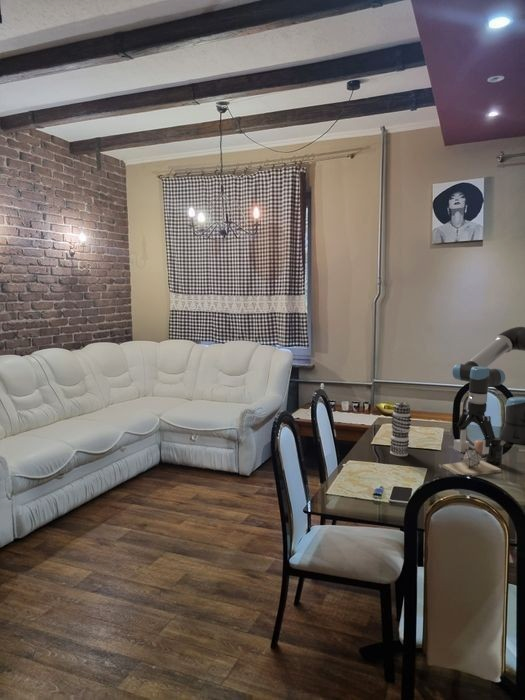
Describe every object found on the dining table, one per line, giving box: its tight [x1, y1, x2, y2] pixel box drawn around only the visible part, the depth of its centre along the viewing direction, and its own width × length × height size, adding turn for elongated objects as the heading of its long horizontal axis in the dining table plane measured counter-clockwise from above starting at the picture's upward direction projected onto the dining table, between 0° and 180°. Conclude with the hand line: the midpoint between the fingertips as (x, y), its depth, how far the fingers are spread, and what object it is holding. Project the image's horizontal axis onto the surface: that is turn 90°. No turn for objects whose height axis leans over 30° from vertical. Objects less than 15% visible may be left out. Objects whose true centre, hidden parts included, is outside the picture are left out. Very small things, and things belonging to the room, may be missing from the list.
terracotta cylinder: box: [473, 439, 486, 458], centre depth 238 cm, size 5×5×7 cm
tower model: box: [389, 401, 412, 457], centre depth 236 cm, size 9×9×25 cm
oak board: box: [441, 459, 502, 477], centre depth 220 cm, size 22×12×1 cm, turn 110°
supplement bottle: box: [485, 436, 504, 467], centre depth 227 cm, size 7×7×12 cm
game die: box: [460, 447, 485, 468], centre depth 219 cm, size 9×8×10 cm
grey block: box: [453, 438, 470, 453], centre depth 245 cm, size 5×5×5 cm
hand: (473, 448), depth 219 cm, fingers open, 13 cm apart
